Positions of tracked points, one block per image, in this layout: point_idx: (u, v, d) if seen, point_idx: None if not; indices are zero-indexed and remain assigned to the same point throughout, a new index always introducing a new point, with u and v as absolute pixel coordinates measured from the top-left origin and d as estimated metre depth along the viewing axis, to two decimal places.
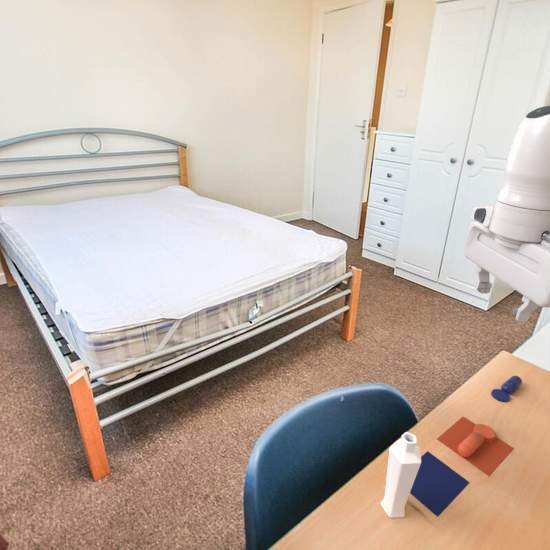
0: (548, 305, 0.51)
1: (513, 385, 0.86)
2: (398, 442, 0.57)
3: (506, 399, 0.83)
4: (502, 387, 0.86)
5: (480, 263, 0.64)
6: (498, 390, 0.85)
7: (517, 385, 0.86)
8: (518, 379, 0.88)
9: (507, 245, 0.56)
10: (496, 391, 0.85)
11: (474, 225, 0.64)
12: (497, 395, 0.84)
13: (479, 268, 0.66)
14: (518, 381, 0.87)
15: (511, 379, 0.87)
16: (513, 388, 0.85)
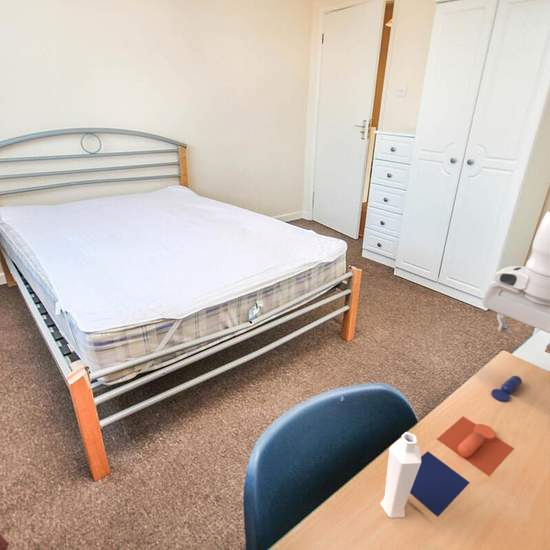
0: None
1: (513, 385, 0.86)
2: (398, 442, 0.57)
3: (506, 399, 0.83)
4: (502, 387, 0.86)
5: (506, 313, 0.82)
6: (498, 390, 0.85)
7: (517, 385, 0.86)
8: (518, 379, 0.88)
9: (544, 303, 0.75)
10: (496, 391, 0.85)
11: (497, 285, 0.81)
12: (497, 395, 0.84)
13: (501, 315, 0.84)
14: (518, 381, 0.87)
15: (511, 379, 0.87)
16: (513, 388, 0.85)
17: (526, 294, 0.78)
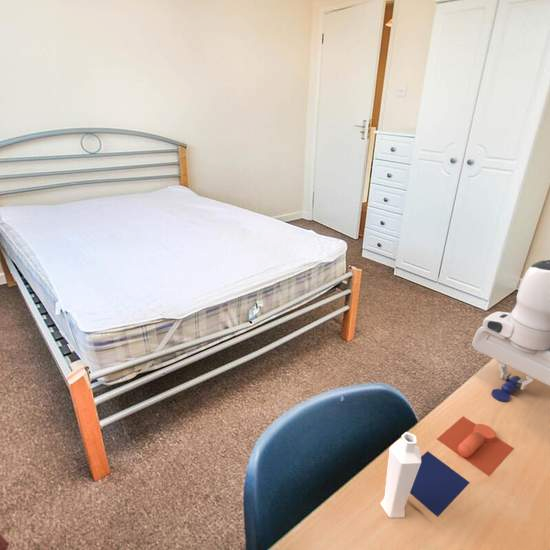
0: None
1: (514, 385, 0.86)
2: (398, 442, 0.57)
3: (506, 399, 0.83)
4: (502, 387, 0.86)
5: (493, 356, 0.87)
6: (498, 390, 0.85)
7: None
8: (518, 379, 0.87)
9: (527, 351, 0.80)
10: (496, 391, 0.85)
11: (485, 330, 0.87)
12: (497, 395, 0.84)
13: (502, 364, 0.87)
14: None
15: (511, 379, 0.87)
16: (513, 388, 0.85)
17: (511, 341, 0.83)
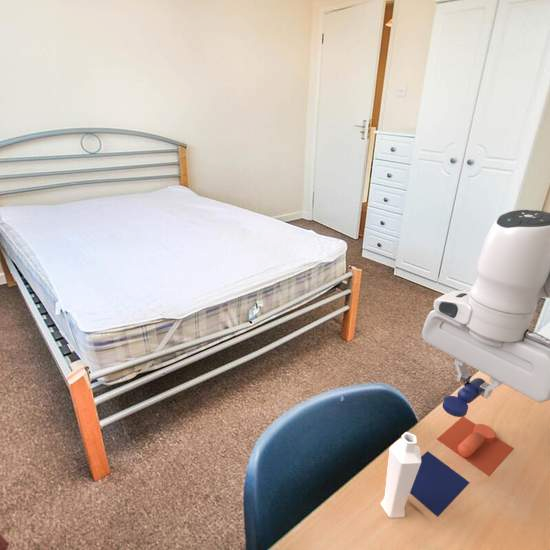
0: None
1: (474, 391, 0.62)
2: (398, 442, 0.57)
3: (462, 410, 0.59)
4: (459, 393, 0.62)
5: (448, 351, 0.64)
6: (453, 397, 0.62)
7: None
8: (482, 383, 0.64)
9: (491, 343, 0.57)
10: (450, 399, 0.62)
11: (437, 315, 0.63)
12: (451, 404, 0.60)
13: (460, 362, 0.63)
14: None
15: (472, 383, 0.64)
16: (473, 395, 0.62)
17: (470, 329, 0.59)
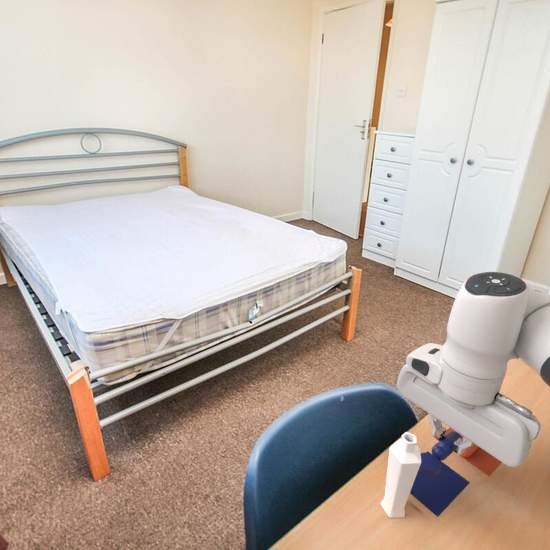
0: None
1: (448, 448, 0.61)
2: (398, 442, 0.57)
3: (435, 470, 0.59)
4: (433, 450, 0.62)
5: (422, 406, 0.63)
6: (426, 455, 0.61)
7: None
8: (457, 438, 0.63)
9: (462, 405, 0.56)
10: (423, 457, 0.61)
11: (410, 370, 0.62)
12: (424, 463, 0.60)
13: (434, 417, 0.62)
14: None
15: (447, 437, 0.63)
16: (447, 452, 0.61)
17: None
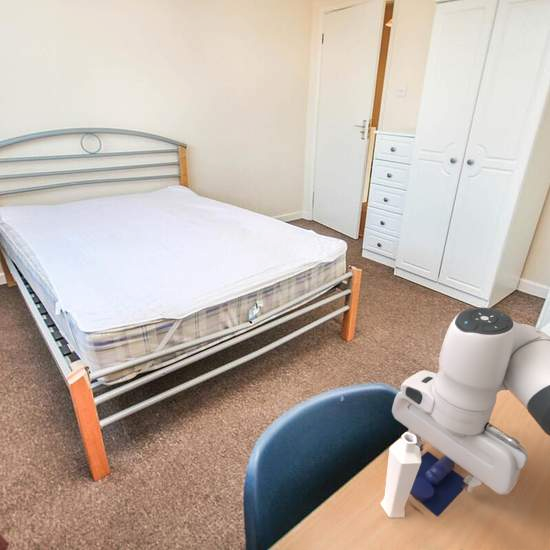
0: (506, 493, 0.55)
1: (441, 473, 0.64)
2: (398, 442, 0.57)
3: (428, 496, 0.61)
4: (426, 475, 0.64)
5: (416, 432, 0.65)
6: (420, 480, 0.63)
7: (447, 472, 0.64)
8: (449, 463, 0.66)
9: (454, 434, 0.58)
10: (417, 482, 0.63)
11: (404, 398, 0.65)
12: (417, 489, 0.62)
13: (412, 432, 0.67)
14: (449, 466, 0.65)
15: (440, 463, 0.65)
16: (440, 478, 0.63)
17: None
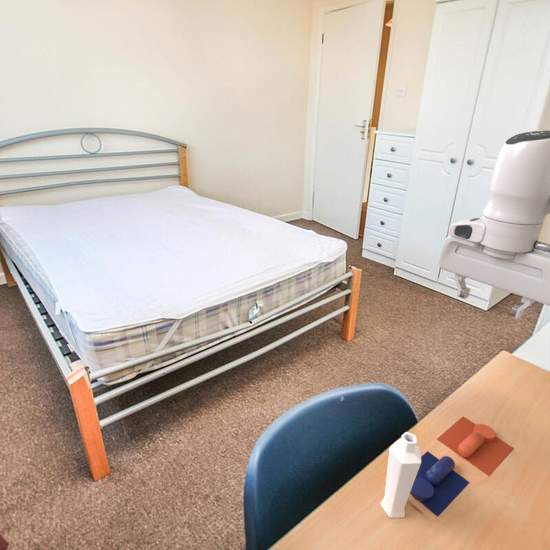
0: None
1: (441, 473, 0.64)
2: (398, 442, 0.57)
3: (428, 496, 0.61)
4: (426, 475, 0.64)
5: (464, 273, 0.70)
6: (420, 480, 0.63)
7: (447, 472, 0.64)
8: (449, 463, 0.66)
9: (504, 257, 0.63)
10: (417, 482, 0.63)
11: (453, 240, 0.69)
12: (417, 489, 0.62)
13: (459, 277, 0.71)
14: (449, 466, 0.65)
15: (440, 463, 0.65)
16: (440, 478, 0.63)
17: (484, 248, 0.65)
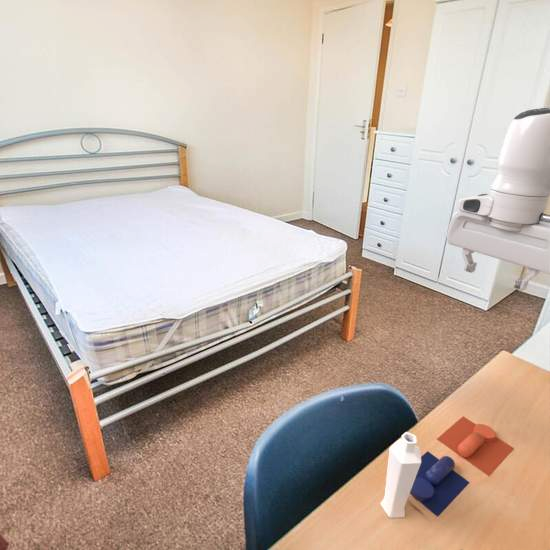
0: None
1: (441, 473, 0.64)
2: (398, 442, 0.57)
3: (428, 496, 0.61)
4: (426, 475, 0.64)
5: (471, 247, 0.73)
6: (420, 480, 0.63)
7: (447, 472, 0.64)
8: (449, 463, 0.66)
9: (510, 229, 0.65)
10: (417, 482, 0.63)
11: (461, 215, 0.72)
12: (417, 489, 0.62)
13: (466, 251, 0.74)
14: (449, 466, 0.65)
15: (440, 463, 0.65)
16: (440, 478, 0.63)
17: (492, 221, 0.68)
